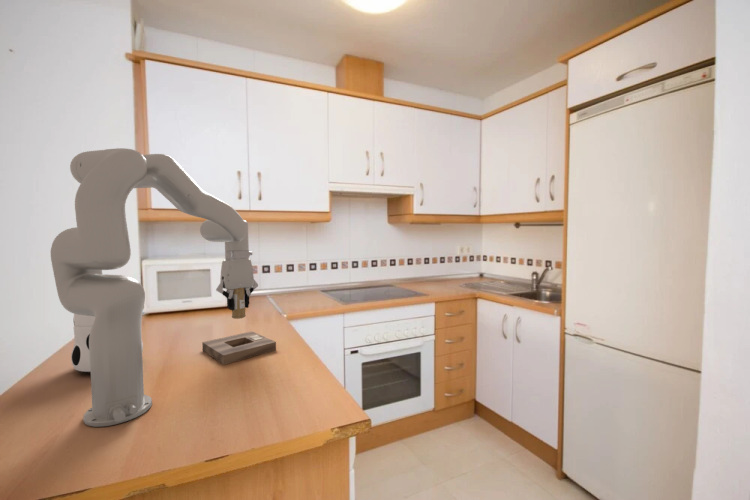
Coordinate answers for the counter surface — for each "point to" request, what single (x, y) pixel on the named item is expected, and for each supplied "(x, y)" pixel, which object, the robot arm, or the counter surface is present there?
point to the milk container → (82, 343)
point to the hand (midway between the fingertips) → (238, 307)
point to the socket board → (238, 347)
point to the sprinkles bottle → (238, 303)
